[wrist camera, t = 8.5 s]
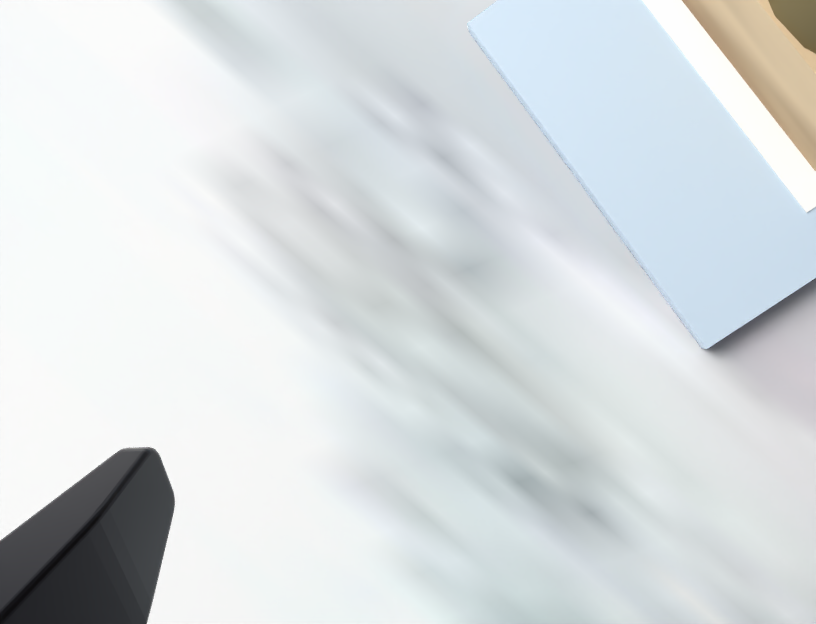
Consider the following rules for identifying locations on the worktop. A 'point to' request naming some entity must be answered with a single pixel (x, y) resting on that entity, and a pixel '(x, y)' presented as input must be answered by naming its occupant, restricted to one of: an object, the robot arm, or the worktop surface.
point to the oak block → (766, 63)
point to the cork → (798, 19)
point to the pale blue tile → (665, 149)
